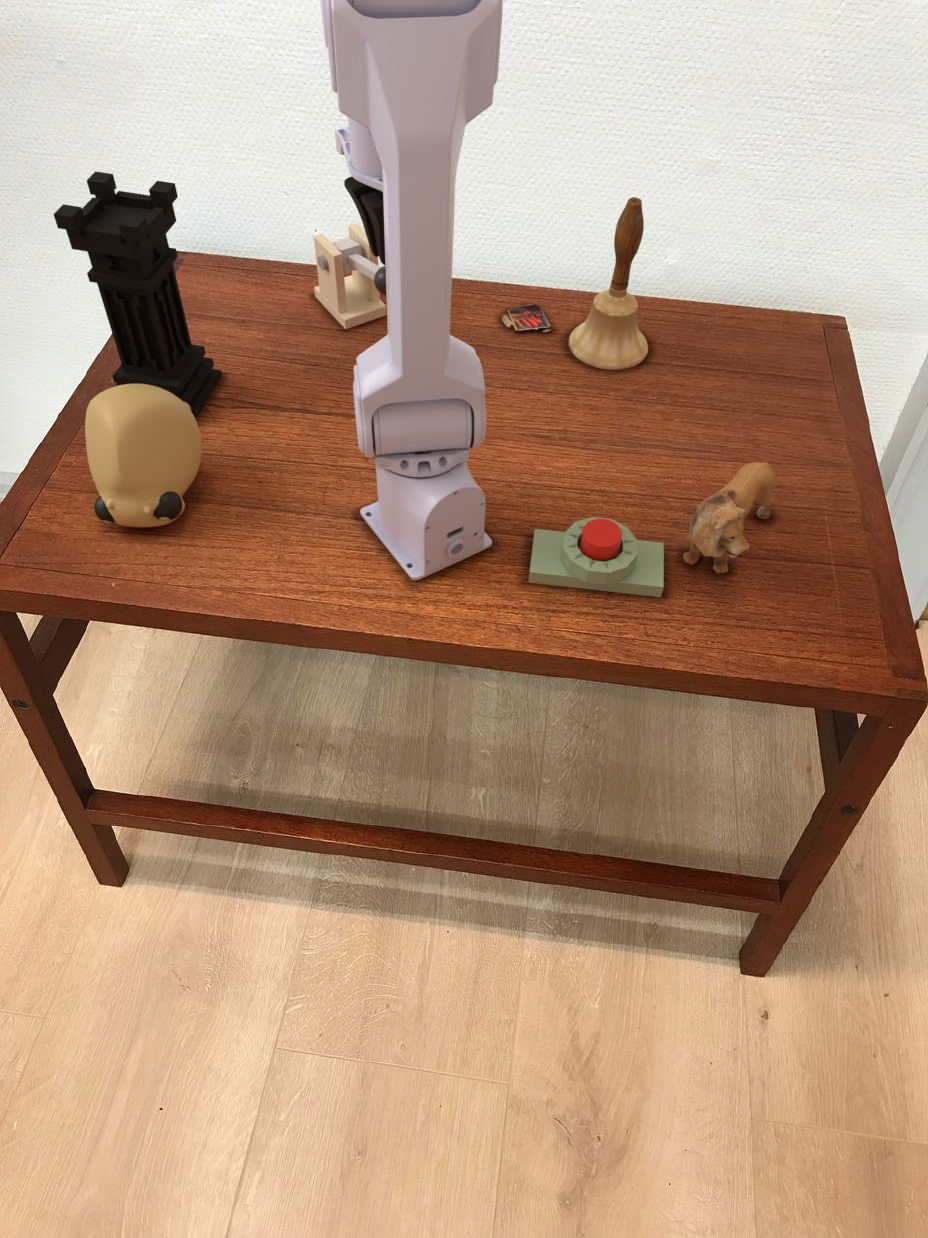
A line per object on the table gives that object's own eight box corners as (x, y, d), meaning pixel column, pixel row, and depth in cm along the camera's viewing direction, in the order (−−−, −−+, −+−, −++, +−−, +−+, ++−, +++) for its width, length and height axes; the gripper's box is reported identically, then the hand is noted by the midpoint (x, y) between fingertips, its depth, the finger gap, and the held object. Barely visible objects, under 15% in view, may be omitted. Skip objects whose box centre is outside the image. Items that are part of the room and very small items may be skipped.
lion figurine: (724, 611, 80) (752, 536, 73) (663, 587, 81) (684, 510, 74) (778, 501, 88) (808, 423, 81) (722, 480, 90) (746, 402, 83)
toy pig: (111, 520, 90) (57, 528, 79) (108, 386, 88) (52, 376, 77) (217, 524, 89) (176, 533, 79) (216, 389, 87) (174, 380, 77)
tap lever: (409, 294, 95) (406, 266, 93) (384, 303, 94) (380, 274, 92) (354, 260, 103) (350, 234, 101) (331, 268, 102) (326, 241, 100)
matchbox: (533, 303, 106) (534, 299, 106) (557, 329, 103) (558, 325, 103) (495, 314, 105) (496, 310, 104) (519, 340, 102) (519, 336, 102)
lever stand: (391, 314, 105) (388, 246, 99) (341, 331, 103) (335, 263, 96) (359, 282, 108) (354, 215, 102) (310, 298, 106) (303, 231, 100)
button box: (661, 548, 84) (667, 524, 82) (660, 603, 80) (667, 579, 78) (533, 535, 85) (536, 510, 82) (527, 588, 81) (530, 563, 79)
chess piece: (111, 413, 94) (46, 215, 78) (147, 363, 98) (93, 168, 83) (189, 427, 93) (139, 230, 77) (222, 376, 97) (181, 181, 82)
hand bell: (647, 325, 104) (676, 180, 92) (648, 373, 99) (679, 226, 87) (569, 319, 105) (587, 173, 92) (567, 367, 100) (585, 219, 87)
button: (619, 535, 81) (622, 520, 80) (618, 563, 79) (621, 548, 78) (581, 530, 82) (583, 516, 80) (579, 558, 80) (581, 544, 78)
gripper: (467, 133, 80) (464, 281, 90) (380, 66, 87) (386, 211, 98) (393, 154, 77) (398, 304, 88) (309, 83, 85) (323, 230, 95)
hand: (387, 256), depth 93 cm, fingers closed
